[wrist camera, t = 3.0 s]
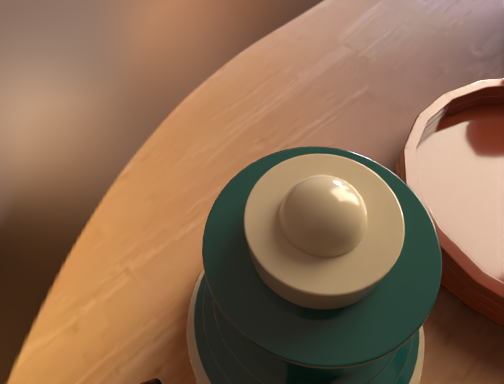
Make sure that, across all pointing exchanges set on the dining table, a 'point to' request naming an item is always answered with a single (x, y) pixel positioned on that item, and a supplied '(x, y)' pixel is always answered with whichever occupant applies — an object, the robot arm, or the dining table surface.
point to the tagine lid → (314, 275)
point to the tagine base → (463, 189)
